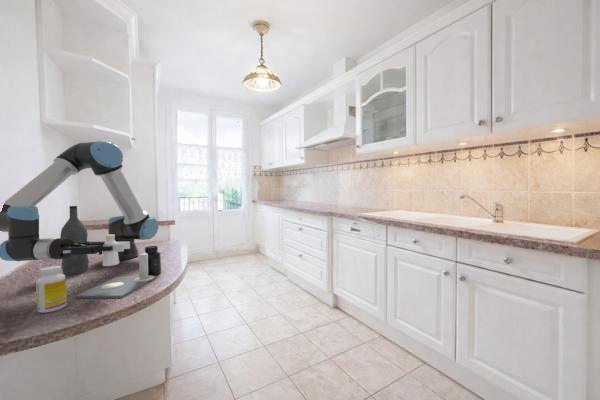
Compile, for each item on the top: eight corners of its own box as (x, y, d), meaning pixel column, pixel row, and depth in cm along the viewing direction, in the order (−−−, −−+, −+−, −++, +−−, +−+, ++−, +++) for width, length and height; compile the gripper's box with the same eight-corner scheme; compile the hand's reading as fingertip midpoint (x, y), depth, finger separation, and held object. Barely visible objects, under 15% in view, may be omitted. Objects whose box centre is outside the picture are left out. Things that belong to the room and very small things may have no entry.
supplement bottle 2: (159, 270, 119) (159, 244, 118) (162, 274, 113) (161, 246, 113) (142, 273, 114) (141, 246, 114) (144, 277, 109) (143, 249, 109)
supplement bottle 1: (72, 304, 83) (71, 264, 83) (52, 313, 77) (50, 271, 76) (52, 303, 83) (51, 264, 83) (30, 313, 77) (28, 270, 76)
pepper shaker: (106, 267, 93) (105, 236, 92) (98, 265, 95) (98, 235, 95) (122, 263, 97) (122, 234, 97) (115, 261, 100) (114, 233, 100)
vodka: (58, 276, 111) (55, 206, 110) (66, 270, 119) (63, 205, 119) (85, 273, 115) (83, 206, 114) (91, 267, 124) (89, 205, 123)
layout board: (118, 277, 108) (117, 252, 108) (157, 277, 108) (156, 252, 108) (75, 298, 88) (74, 266, 88) (123, 297, 88) (122, 266, 87)
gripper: (72, 253, 102) (137, 251, 105) (36, 265, 85) (114, 262, 89) (72, 234, 102) (136, 233, 105) (35, 242, 85) (113, 240, 89)
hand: (126, 246), depth 97 cm, fingers closed on pepper shaker, 4 cm apart
